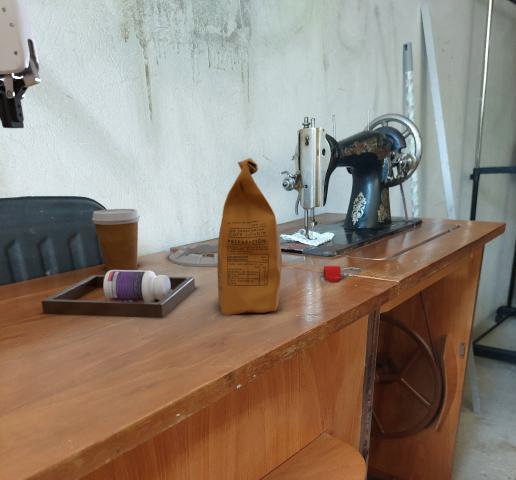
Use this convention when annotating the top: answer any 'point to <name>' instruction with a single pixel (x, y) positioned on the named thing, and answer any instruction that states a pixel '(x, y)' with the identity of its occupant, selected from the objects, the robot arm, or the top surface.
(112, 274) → the pill bottle
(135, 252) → the disposable coffee cup
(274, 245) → the coffee package
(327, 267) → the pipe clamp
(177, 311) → the top surface
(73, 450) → the top surface
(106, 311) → the walnut frame
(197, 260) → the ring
